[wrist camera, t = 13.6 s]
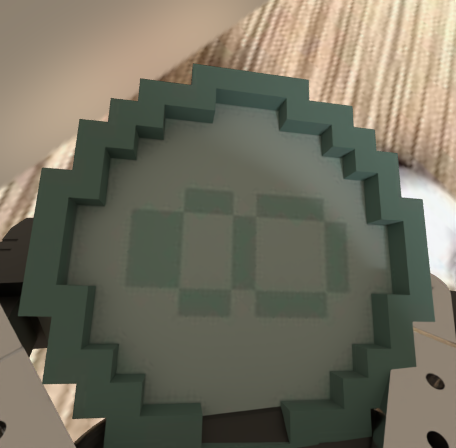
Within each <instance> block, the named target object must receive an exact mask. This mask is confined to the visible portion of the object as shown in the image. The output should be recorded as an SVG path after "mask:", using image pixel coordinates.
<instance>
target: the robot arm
mask: <svg viewBox="0 0 456 448" xmlns="http://www.w3.org/2000/svg"><path fill="white" fill-rule="evenodd" d="M33 219H34V218H26V219H24V220H23V221H21V222H20V223H18V224H17V225H15V226H13V227H12V228H11V229H10V230H9V232H8V233H7V234H6V235H5V237H4V238H3V239H2V240H3V241H2V242H0V448H104V438H105V428H106V418H105V419H103V420H102V421H100V422H99V423H97V424H96V425H94V426H93V427H92V428H90V429H89V430H88V431H87V432H85V433H84V434H83V435H82V436H81V437H80V438H79V439H78V440H76V441H75V442H74V443H73V441H72V439H71V437H70V435H69V433H68V432H67V430H66V428H65V426H64V424H63V422H62V420H61V418H60V416H59V414H58V412H57V410H56V408H55V407H54V405H53V403H52V401H51V399H50V397H49V395H48V393H47V391H46V389H45V387H44V385H43V384H42V382H41V380H40V378H39V376H38V374H37V372H36V370H35V368H34V366H33V364H32V362H31V361H30V359H29V357H30V355H31V352H32V350H33V349H39V348H47V346H48V339H49V332H50V325H51V318H52V317H41V316H18V311H19V305H20V299H21V293H22V287H23V281H24V275H25V268H26V262H27V256H28V250H29V244H30V238H31V232H32V226H33ZM430 276H431V286H432V295H433V305H434V315H435V322H413V333H414V344H415V355H416V366H417V367H410V368H401V369H392V370H391V371H390V374H389V377H388V381H387V384H386V387H385V391H384V394H383V398H382V401H381V404H380V408H372V409H370V410H371V427H372V436H371V437H364V438H358V439H351V440H345V441H338V442H324V443H319V444H318V445H312V446H305V447H298V448H456V291H450V290H449V288H448V287H447V286H446V284H445V283H444V282H443V281H441V280H440V279H439V278H437V277H436V276H434V275H433V274H431V273H430ZM263 442H289V439H288V435H287V431H286V426H285V422H284V417H283V413H282V409H281V406H278V407H270V408H262V409H254V410H246V411H238V412H230V413H221V414H213V415H205V416H203V417H202V441H201V443H263Z"/></svg>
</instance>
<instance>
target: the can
mask: <svg viewBox="0 0 456 448" xmlns="http://www.w3.org/2000/svg"><path fill="white" fill-rule="evenodd" d="M18 316H41V317H52V318H51V325H50V332H49V339H48V346H47V353H46V360H45V367H44V374H43V382H42V384H76V393H75V401H74V409H73V417H72V419H83V418H106V428H105V438H104V448H298V447H305V446H312V445H318V444H319V443H324V442H338V441H345V440H351V439H358V438H364V437H371V436H372V427H371V410H370V409H372V408H380V404H381V401H382V398H383V394H384V391H385V387H386V384H387V381H388V377H389V374H390V371H391V370H392V369H401V368H410V367H417V366H416V355H415V344H414V333H413V322H435V315H434V305H433V295H432V286H431V276H430V267H429V257H428V248H427V238H426V228H425V219H424V209H423V200H422V199H413V198H401V188H400V177H399V166H398V155H397V153H390V152H381V151H376V139H375V130H374V129H365V128H357V127H354V125H353V108H352V106H347V105H339V104H332V103H324V102H316V101H309V80H306V79H299V78H292V77H285V76H278V75H270V74H263V73H256V72H249V71H242V70H235V69H228V68H221V67H214V66H207V65H200V64H193V69H192V83H191V85H187V84H179V83H171V82H164V81H156V80H148V79H140V87H139V97H138V101H131V100H123V99H114V98H111V101H110V110H109V118H108V122H103V121H94V120H83V119H80V120H79V127H78V134H77V141H76V148H75V155H74V162H73V169H72V170H65V169H53V168H42V170H41V177H40V183H39V189H38V195H37V201H36V207H35V213H34V219H33V226H32V232H31V238H30V244H29V250H28V256H27V262H26V268H25V275H24V281H23V287H22V293H21V299H20V305H19V311H18ZM278 406H281V409H282V413H283V417H284V422H285V426H286V431H287V435H288V439H289V442H263V443H201V441H202V417H203V416H205V415H213V414H221V413H230V412H238V411H246V410H254V409H262V408H270V407H278Z"/></svg>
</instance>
